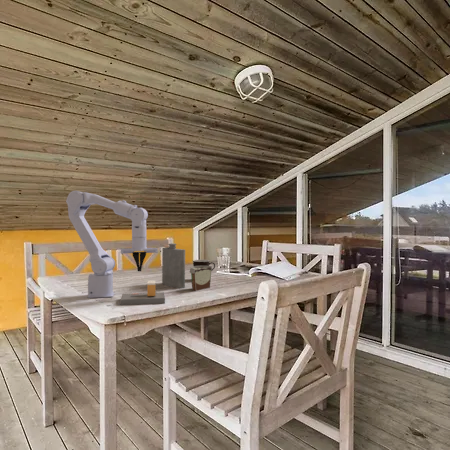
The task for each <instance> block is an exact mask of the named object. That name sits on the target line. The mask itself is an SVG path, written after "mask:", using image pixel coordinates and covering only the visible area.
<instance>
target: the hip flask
mask: <svg viewBox="0 0 450 450" xmlns="http://www.w3.org/2000/svg"><path fill="white" fill-rule="evenodd" d="M176 247H177V243H168V247H165V246H164V247H162V261H161V262H162V264H161V266H162V267H161V268H162V269H161V270H162V271H161V272H162V273H161V284H162V285H164V286H167V287H172V288H177V289H185V288H186V249H182V248H176Z"/></svg>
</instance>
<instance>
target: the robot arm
mask: <svg viewBox="0 0 450 450" xmlns="http://www.w3.org/2000/svg"><path fill="white" fill-rule="evenodd" d="M65 202H66V205H67V212H68V219H69V221H70V223H71V224H72V226H73V227H74V229H75V231H76V233H77V235H78V237H79V239H80V240H81V241H82V243H83V245H84V246H85V248H86V251H87V252H88V254H89V262H90V264H91V267H90V268H91V270H92V271H93V273H91V274H89V275H88V279H87V299H88V298H89V299H90V298H92V299H95V298H113V297H114V295H115V291H114V289H113V288H114V285H113V284H114V272H113V270H114V269H115V267H116V261H115V259H114V258H113V257H111V256H110V255H109V253H108V252H107V251H106V250H105V249H103V247H102V246H101V243H100V242H99V241H98V239H97V237H96V235H95V233H94V232H93V231H94V230H93V229H92V228H91V225H89V223H88V221H87V219H86V218H85V214H86V212H87V210H88V209H89V208H90V207H91V205H99V206H102V207H105V208H106V209H110V210H112V211H113V213H114V214H115V215H118V216H120V217H123V218H126V219H129V220H130V221H131V247H129V248H128V247H127V248H120V254H121V255H123V254H132V257H133V260H134V262H135V264H136V267H137V272H142V268H143V264H144V261H145V258H146V255H147V254H150V253H151V254H153V253H154V254H158V253H159V251H158V249H159V248H158V247H147V236H148V235H147V219H148V216H149V214H148V213H149V212H148V211H147V210H146V208H143V207H138V205H137V204H134V205H133V204H131V203H128V202H127V201H126V200H124V199H122V200H118V201H114V200H111V199H109V198H106V197H105V196H101V195H98V194H95V193H90V192H87V191H79V190H72V191H70V192H69V193H68V195H67V197H66V201H65Z"/></svg>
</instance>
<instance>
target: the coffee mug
mask: <svg viewBox="0 0 450 450" xmlns="http://www.w3.org/2000/svg"><path fill="white" fill-rule="evenodd" d="M192 264H193V266H211V264H212V265H213V267H212V271H214V269H215V268H216V264H215V262H210V260H209V259H193V260H192ZM193 266H192V267H193Z"/></svg>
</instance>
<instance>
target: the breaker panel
mask: <svg viewBox="0 0 450 450" xmlns="http://www.w3.org/2000/svg"><path fill="white" fill-rule="evenodd" d="M165 303H166V297H165V293H164V292H163V291H162V292H155V296H147V292H135V293H134V292H133V293H131V292H130V293H122V294H121V297H120V306H131V305H133V306H134V305H154V304H155V305H159V304H161V305H162V304H165Z"/></svg>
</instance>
